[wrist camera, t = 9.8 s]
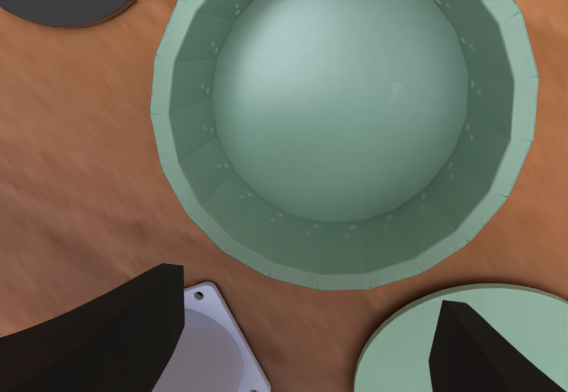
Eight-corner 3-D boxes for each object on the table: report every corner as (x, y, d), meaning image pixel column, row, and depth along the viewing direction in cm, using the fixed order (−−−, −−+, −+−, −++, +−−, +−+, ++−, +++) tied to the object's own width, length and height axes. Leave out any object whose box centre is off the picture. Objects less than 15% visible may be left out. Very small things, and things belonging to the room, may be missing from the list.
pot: (269, 261, 22) (246, 327, 17) (154, 31, 19) (83, 26, 14) (515, 177, 19) (579, 227, 14) (427, -117, 16) (468, -196, 10)
